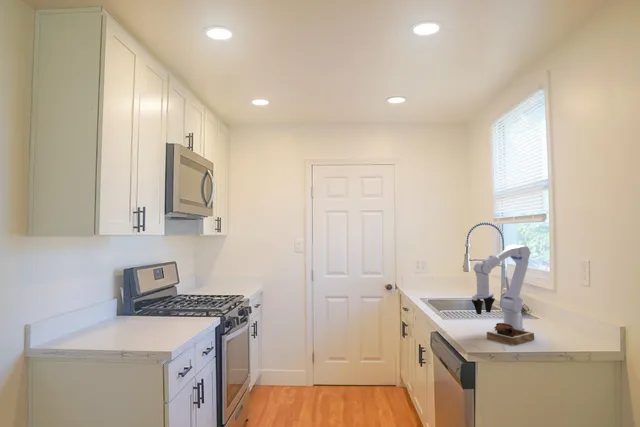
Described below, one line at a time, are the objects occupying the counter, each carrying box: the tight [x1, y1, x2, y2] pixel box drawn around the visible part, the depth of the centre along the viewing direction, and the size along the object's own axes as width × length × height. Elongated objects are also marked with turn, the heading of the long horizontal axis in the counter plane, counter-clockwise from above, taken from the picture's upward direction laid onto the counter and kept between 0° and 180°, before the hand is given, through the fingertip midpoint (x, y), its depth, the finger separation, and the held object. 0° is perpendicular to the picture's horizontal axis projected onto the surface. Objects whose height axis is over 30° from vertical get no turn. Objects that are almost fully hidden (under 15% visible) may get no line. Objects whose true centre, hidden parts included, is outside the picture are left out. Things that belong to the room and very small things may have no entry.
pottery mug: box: [493, 322, 516, 337], centre depth 195 cm, size 12×10×8 cm
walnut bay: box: [486, 329, 535, 346], centre depth 195 cm, size 17×14×3 cm
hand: (483, 313), depth 207 cm, fingers open, 7 cm apart
